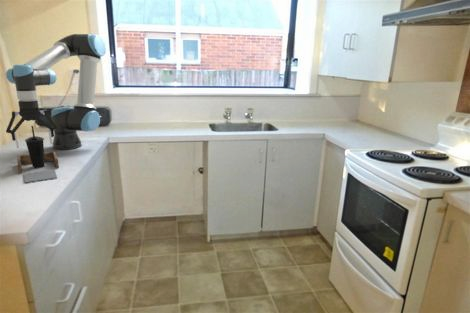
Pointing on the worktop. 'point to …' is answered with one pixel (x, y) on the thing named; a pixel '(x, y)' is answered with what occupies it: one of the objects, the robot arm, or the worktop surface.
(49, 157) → the open wooden frame
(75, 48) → the robot arm
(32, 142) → the drinking cup
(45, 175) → the mat
